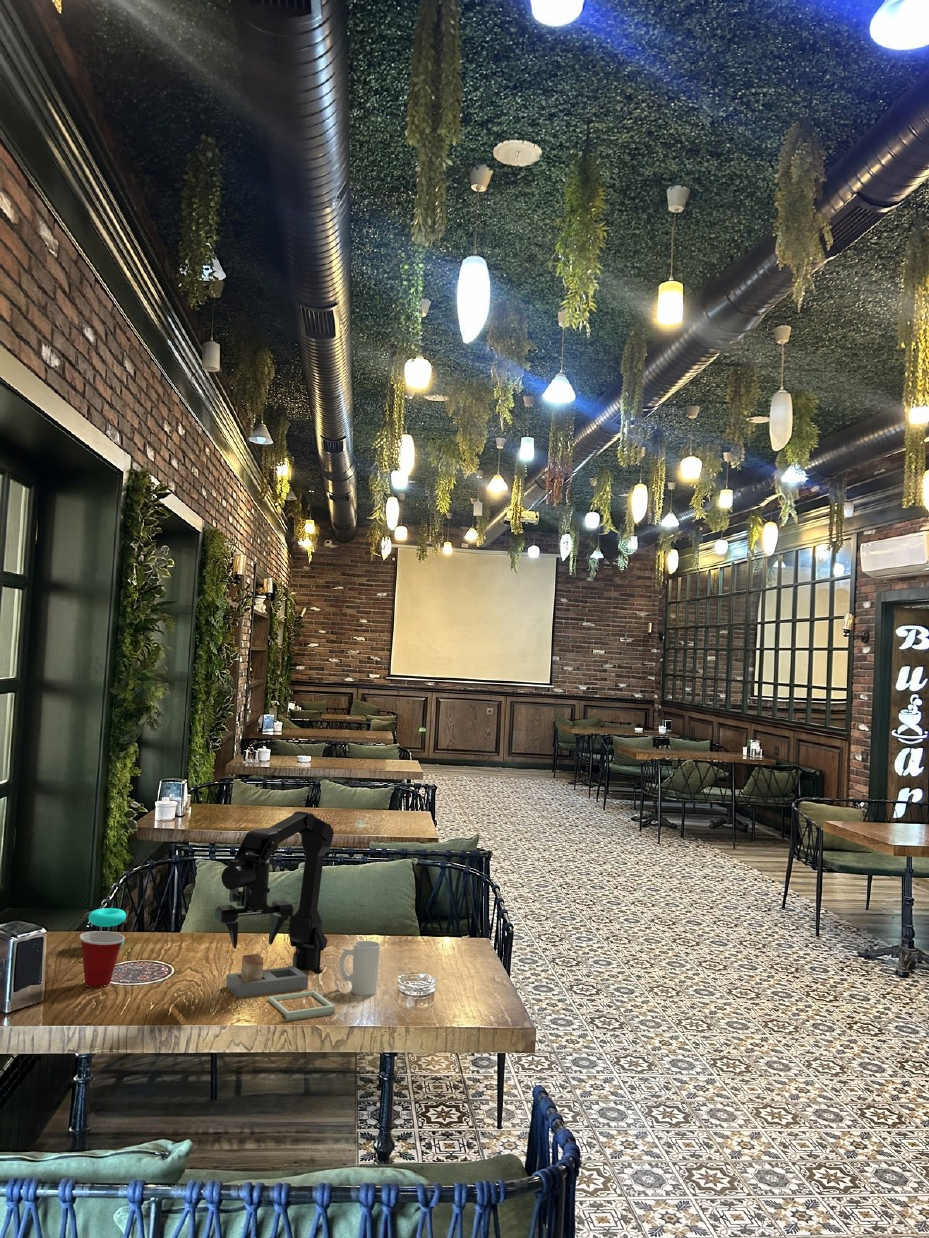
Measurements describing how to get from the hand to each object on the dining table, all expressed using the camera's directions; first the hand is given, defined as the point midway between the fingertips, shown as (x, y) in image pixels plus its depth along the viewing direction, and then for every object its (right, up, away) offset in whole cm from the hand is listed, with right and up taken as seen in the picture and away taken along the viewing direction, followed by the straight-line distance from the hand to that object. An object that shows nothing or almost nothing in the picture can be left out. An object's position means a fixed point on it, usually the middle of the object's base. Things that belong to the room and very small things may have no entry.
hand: (252, 946), depth 232 cm
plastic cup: (-39, -10, +1) cm, 40 cm away
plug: (0, -11, 0) cm, 11 cm away
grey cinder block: (+3, -12, +2) cm, 13 cm away
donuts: (-49, -12, +32) cm, 60 cm away
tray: (+14, -12, -9) cm, 20 cm away
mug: (+26, -14, +6) cm, 30 cm away
